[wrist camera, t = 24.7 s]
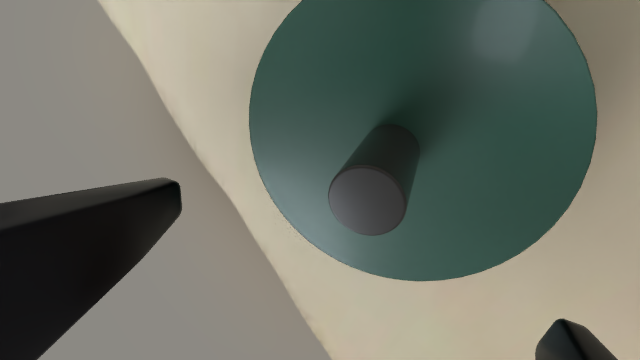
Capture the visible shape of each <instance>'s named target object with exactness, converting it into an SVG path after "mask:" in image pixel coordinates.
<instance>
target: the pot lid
mask: <svg viewBox="0 0 640 360" xmlns="http://www.w3.org/2000/svg"><path fill="white" fill-rule="evenodd" d="M596 127H597V105H596V97H595V88H594V83H593V80H592V77H591V73H590V70H589V67H588V63H587V60H586V58H585V56H584V54H583V52H582V50H581V48H580V46H579V44H578V42H577V40H576V38H575V36H574V34H573V33H572V32H571V30H570V29H569V28H568V26H567V25H566V24H565V22H564V21H563V20H562V18H561V17H560V16H559V14H558V13H557V12H556V11H555V10H554V9H553V8H552V7H551V6H550V5H549V4H548V3H547V2H546V1H544V0H302V1H301V2H300V3H299V4H298V5H297V6H296V7H295V8H294V9H293V10H292V11H291V12H290V13H289V14H288V15H287V17H286V18H285V19H284V21H283V22H282V23H281V25H280V26H279V27H278V29H277V30H276V31H275V33H274V35H273V36H272V38H271V40H270V42H269V43H268V45H267V47H266V49H265V51H264V53H263V55H262V58H261V60H260V63H259V65H258V68H257V71H256V74H255V78H254V82H253V86H252V91H251V98H250V106H249V129H250V139H251V145H252V150H253V154H254V159H255V162H256V165H257V168H258V171H259V174H260V177H261V179H262V181H263V183H264V185H265V187H266V189H267V191H268V193H269V195H270V196H271V198H272V200H273V201H274V203H275V205H276V206H277V208H278V209H279V210H280V212H281V213H282V214H283V216H284V217H285V218H286V219H287V220H288V222H289V223H290V224H291V225H292V226H293V227H294V228H295V229H296V230H297V231H298V232H299V233H300V234H301V235H302V236H303V237H305V238H306V239H307V240H308V241H309V242H310V243H312V244H313V245H314V246H316V247H317V248H319V249H320V250H321V251H323V252H324V253H326V254H328V255H329V256H331V257H333V258H334V259H336V260H338V261H340V262H342V263H344V264H346V265H349V266H351V267H353V268H356V269H359V270H361V271H364V272H367V273H370V274H374V275H378V276H382V277H386V278H392V279H399V280H408V281H437V280H447V279H453V278H459V277H464V276H467V275H471V274H475V273H478V272H482V271H484V270H487V269H489V268H492V267H494V266H497V265H499V264H501V263H503V262H505V261H507V260H509V259H511V258H513V257H514V256H516V255H518V254H520V253H521V252H522V251H524V250H525V249H527V248H528V247H530V246H531V245H532V244H534V243H535V242H537V241H538V240H539V239H540V238H541V237H542V236H543V235H544V234H545V233H546V232H547V231H548V230H550V229H551V228H552V227H553V226H554V225H555V223H556V222H557V221H558V220H559V218H560V217H561V216H562V215H563V214H564V212H565V211H566V210H567V209H568V207H569V206H570V204H571V202H572V201H573V199H574V197H575V196H576V194H577V192H578V191H579V189H580V187H581V185H582V182H583V180H584V178H585V175H586V173H587V170H588V168H589V165H590V162H591V158H592V153H593V149H594V145H595V140H596Z"/></svg>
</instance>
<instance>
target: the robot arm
mask: <svg viewBox="0 0 640 360" xmlns="http://www.w3.org/2000/svg"><path fill="white" fill-rule="evenodd" d="M181 211H182V202H181V190H180V185H179V183H177V182H176V181H173V180H171V179H168V178H157V179H150V180H144V181H138V182H131V183H125V184H119V185H113V186H106V187H100V188H94V189H87V190H81V191H74V192H68V193H62V194H55V195H49V196H43V197H36V198H30V199H24V200H17V201H11V202H5V203H0V360H37V359H38V358H39V357H40V356H41V355H43V354H44V353H45V352H46V351H47V350H48V349H49V348H50V347H51V346H52V345H53V344H54V343H55V342H56V341H57V340H58V339H59V338H60V337H61V336H62V335H63V334H64V333H66V331H68V330H69V329H70V328H71V327H72V326H73V325H74V324H75V323H76V322H77V321H78V320H79V319H80V318H81V317H82V316H83V315H84V314H85V313H86V312H87V311H88V310H89V309H91V308H92V307H93V306H94V305H95V304H96V303H97V302H98V301H99V300H100V299H101V298H102V297H103V296H104V295H105V294H106V293H107V292H108V291H109V290H110V289H111V288H112V287H113V286H115V285H116V283H118V282H119V281H120V280H121V279H122V278H123V277H124V276H125V275H126V274H127V273H128V272H129V271H130V270H131V269H132V268H133V267H134V266H135V265H136V264H137V263H138V262H139V261H140V260H141V259H142V258H143V257H144V256H145V255H146V254H147V253H148V252H149V250H150V249H151V248H152V247H153V245H155V244H156V242H157V241H158V240H159V239H160V238H161V237H162V235H163V234H164V233H165V232H166V231H167V230H168V228H169V227H170V226H171V225H172V224H173V223H174V222H175V220H176V219H177V218H178V217H179V215H180V214H181ZM535 360H618V359H617V358H616V357H615V356H614V355H613V354H612V353H611V352H610V351H609V350H608V349H607V348H606V347H605V346H604V345H603V344H602V343H601V342H600V341H599V340H598V339H597V338H596V337H595V336H594V335H593V334H592V333H591V332H590V331H589V330H588V329H587V328H586V327H584V326H582V325H580V324H577V323H574V322H571V321H568V320H565V319H558V320H556V321H555V322H554V323H553V324H552V326H551V327H550V328H549V330H548V331H547V332H546V333H545V335H544V336H543V337H542V339H541V340H540V341H539V343H538V345H537V347H536V352H535Z"/></svg>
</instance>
